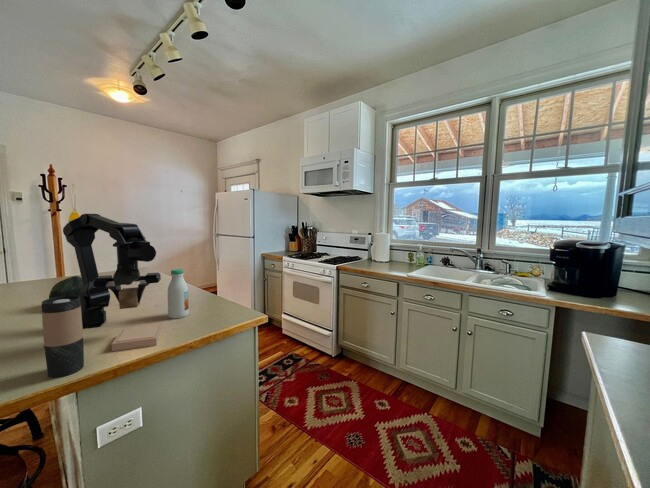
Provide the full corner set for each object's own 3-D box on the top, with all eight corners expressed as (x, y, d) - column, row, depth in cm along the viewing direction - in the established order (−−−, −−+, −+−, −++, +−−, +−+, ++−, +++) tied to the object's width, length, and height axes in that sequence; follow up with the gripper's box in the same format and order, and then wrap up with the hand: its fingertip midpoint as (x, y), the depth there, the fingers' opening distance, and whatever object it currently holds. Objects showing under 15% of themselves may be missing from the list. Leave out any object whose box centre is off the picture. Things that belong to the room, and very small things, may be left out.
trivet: (111, 351, 84) (111, 343, 84) (123, 335, 95) (122, 328, 95) (156, 345, 89) (156, 337, 89) (162, 330, 100) (162, 323, 100)
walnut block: (119, 309, 93) (118, 292, 92) (123, 304, 97) (122, 288, 97) (136, 307, 95) (136, 290, 94) (140, 303, 99) (139, 287, 99)
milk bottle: (179, 319, 111) (178, 272, 109) (163, 318, 112) (162, 270, 110) (192, 313, 118) (191, 268, 116) (177, 311, 120) (176, 267, 118)
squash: (51, 292, 125) (48, 272, 117) (93, 288, 135) (94, 269, 127) (49, 319, 118) (46, 299, 110) (94, 313, 128) (94, 294, 120)
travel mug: (92, 362, 78) (88, 295, 76) (68, 378, 70) (62, 304, 68) (65, 362, 78) (60, 295, 76) (37, 378, 70) (31, 303, 68)
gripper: (84, 265, 83) (87, 314, 85) (154, 262, 91) (156, 307, 92) (97, 259, 94) (100, 303, 95) (159, 257, 101) (161, 298, 103)
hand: (130, 303), depth 96 cm, fingers closed on walnut block, 5 cm apart
